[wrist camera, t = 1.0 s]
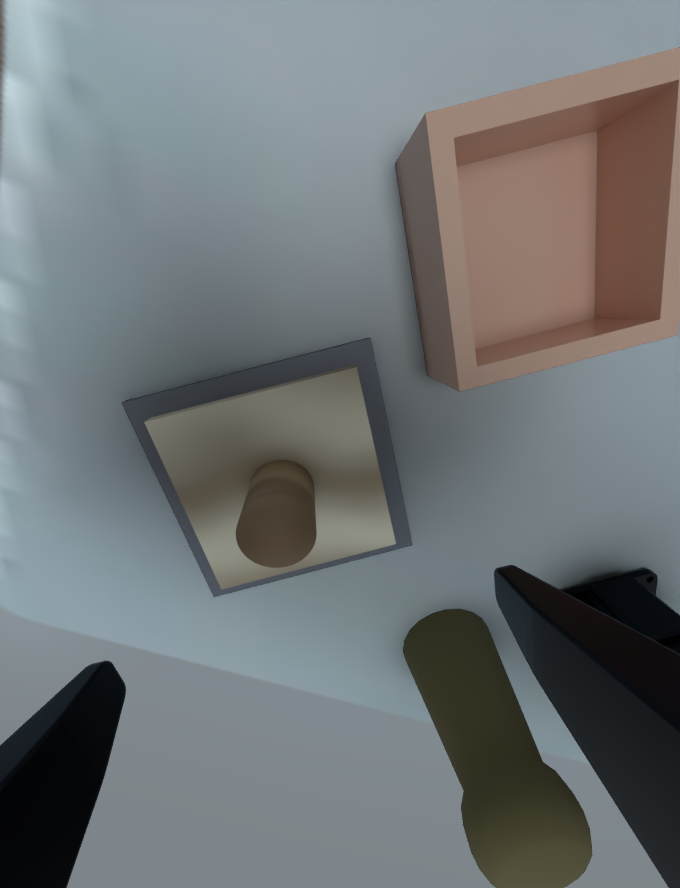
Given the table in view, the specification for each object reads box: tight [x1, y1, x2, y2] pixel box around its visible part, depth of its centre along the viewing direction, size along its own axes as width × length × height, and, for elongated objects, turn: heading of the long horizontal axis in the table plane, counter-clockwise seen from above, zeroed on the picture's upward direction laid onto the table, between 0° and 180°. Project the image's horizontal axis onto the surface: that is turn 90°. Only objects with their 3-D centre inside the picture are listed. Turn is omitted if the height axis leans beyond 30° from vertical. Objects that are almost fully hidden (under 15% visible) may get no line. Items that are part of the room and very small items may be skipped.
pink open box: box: [395, 47, 680, 392], centre depth 15 cm, size 9×9×4 cm
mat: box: [122, 338, 412, 597], centre depth 19 cm, size 12×12×1 cm
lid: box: [144, 365, 396, 590], centre depth 17 cm, size 10×10×5 cm
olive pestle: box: [403, 609, 592, 888], centre depth 19 cm, size 6×6×11 cm
